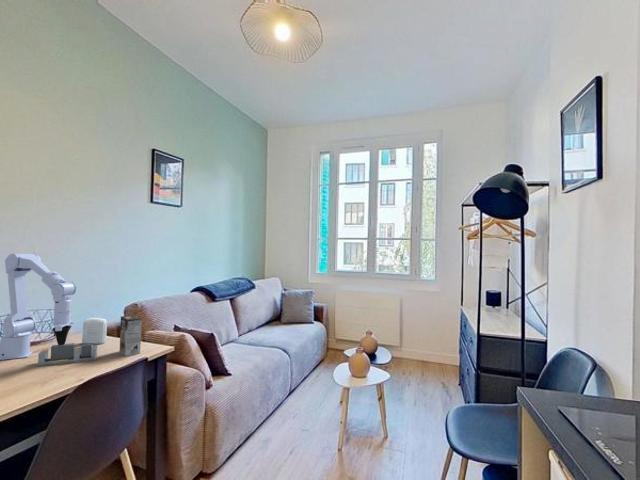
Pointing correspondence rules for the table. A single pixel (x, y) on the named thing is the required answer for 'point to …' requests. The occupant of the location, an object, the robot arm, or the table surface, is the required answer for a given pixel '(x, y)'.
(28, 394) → the table surface
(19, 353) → the robot arm
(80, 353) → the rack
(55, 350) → the panel
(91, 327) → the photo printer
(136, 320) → the coffee box
